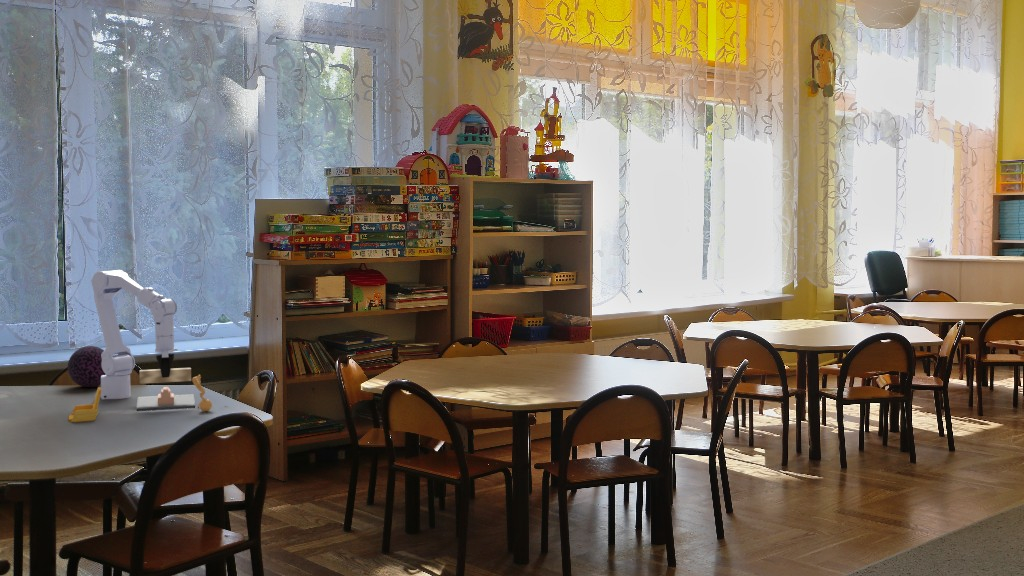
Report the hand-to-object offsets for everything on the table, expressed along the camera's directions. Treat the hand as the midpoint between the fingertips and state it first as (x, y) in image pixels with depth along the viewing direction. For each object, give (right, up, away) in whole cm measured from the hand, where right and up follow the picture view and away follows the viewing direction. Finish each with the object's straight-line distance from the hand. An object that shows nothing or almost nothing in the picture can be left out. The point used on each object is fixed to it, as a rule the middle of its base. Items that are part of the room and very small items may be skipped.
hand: (165, 376), depth 336 cm
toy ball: (-39, -7, +35) cm, 53 cm away
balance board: (-1, -10, +3) cm, 10 cm away
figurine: (+15, -11, -10) cm, 21 cm away
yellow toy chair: (-18, -12, -20) cm, 29 cm away
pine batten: (0, -2, 0) cm, 2 cm away
